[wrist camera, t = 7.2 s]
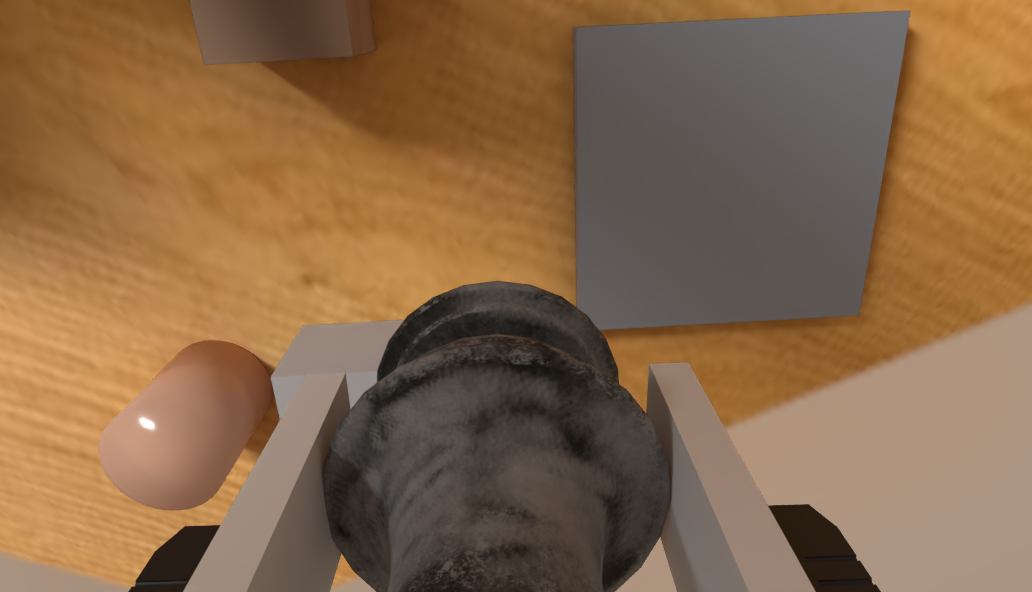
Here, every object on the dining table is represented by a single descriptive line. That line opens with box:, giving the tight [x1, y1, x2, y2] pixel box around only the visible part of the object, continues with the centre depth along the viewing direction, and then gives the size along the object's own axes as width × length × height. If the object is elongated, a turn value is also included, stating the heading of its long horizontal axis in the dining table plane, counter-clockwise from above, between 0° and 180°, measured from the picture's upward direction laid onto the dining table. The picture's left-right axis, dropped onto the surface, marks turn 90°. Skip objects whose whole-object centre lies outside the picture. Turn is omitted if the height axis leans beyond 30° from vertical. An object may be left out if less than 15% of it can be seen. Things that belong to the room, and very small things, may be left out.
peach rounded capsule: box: [99, 340, 273, 510], centre depth 30 cm, size 5×5×6 cm
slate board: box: [573, 11, 910, 330], centre depth 29 cm, size 13×13×1 cm
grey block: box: [271, 320, 404, 419], centre depth 30 cm, size 5×5×5 cm
